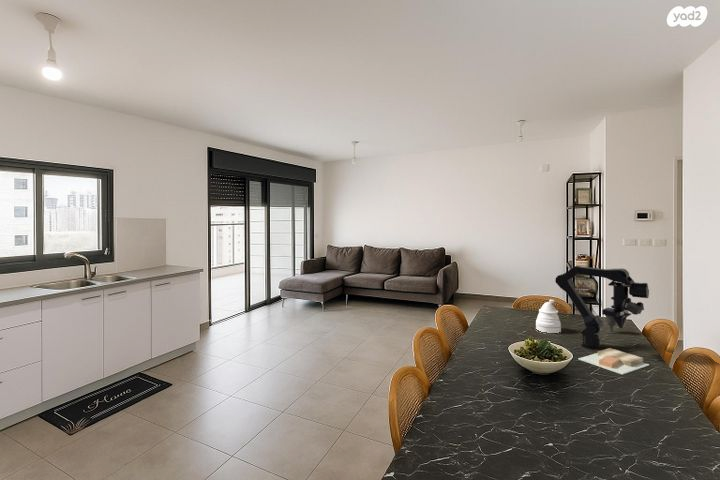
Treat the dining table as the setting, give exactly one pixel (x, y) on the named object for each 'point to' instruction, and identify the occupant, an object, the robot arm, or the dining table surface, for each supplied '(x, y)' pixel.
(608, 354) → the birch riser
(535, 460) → the dining table surface
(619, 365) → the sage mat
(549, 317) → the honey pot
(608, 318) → the sundae
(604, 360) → the terracotta tile
